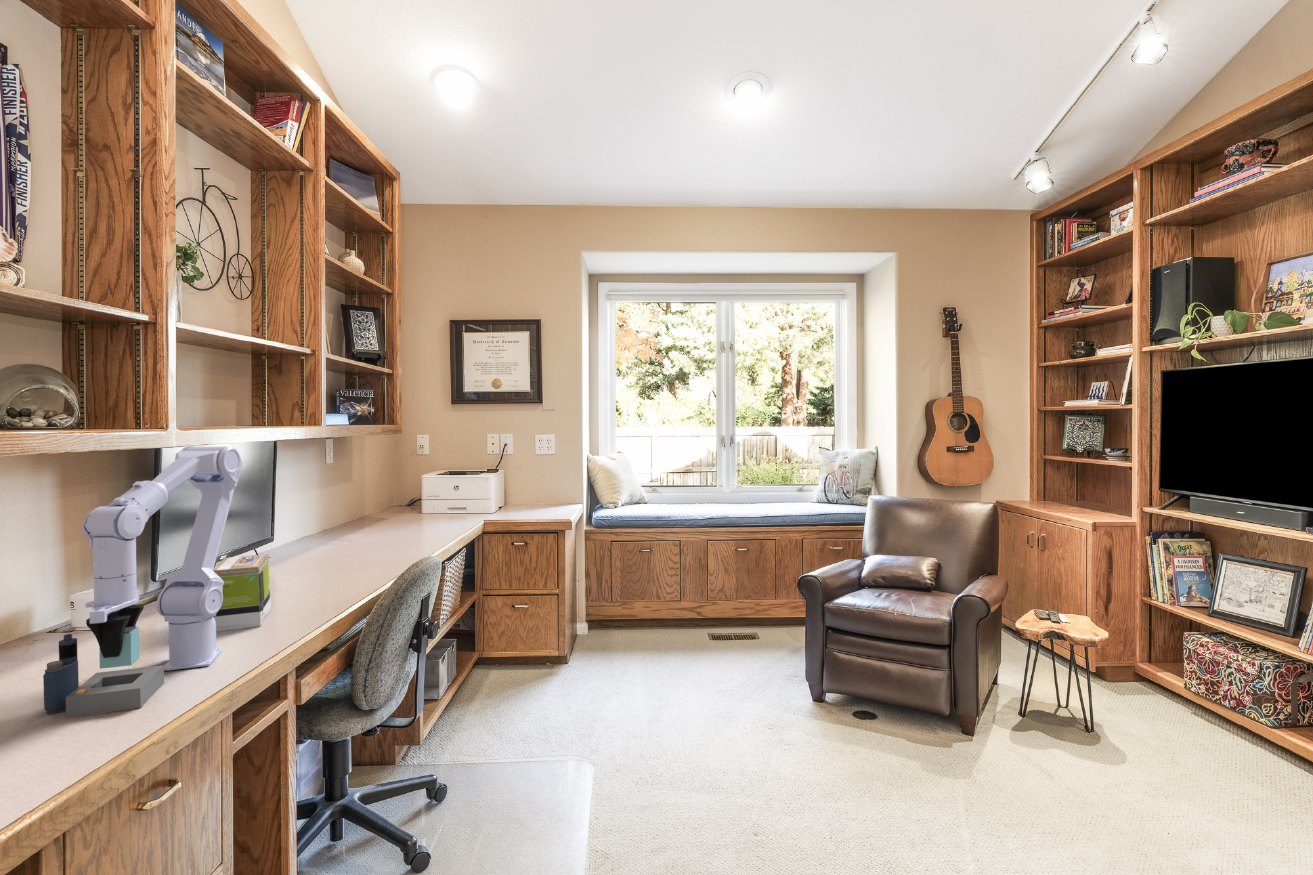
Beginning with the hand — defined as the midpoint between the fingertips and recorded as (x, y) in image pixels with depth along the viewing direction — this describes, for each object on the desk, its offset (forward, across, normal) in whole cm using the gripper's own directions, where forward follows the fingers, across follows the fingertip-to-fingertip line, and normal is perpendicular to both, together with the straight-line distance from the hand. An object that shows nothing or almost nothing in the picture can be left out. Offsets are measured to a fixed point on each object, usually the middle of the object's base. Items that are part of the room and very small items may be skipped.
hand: (116, 652), depth 112 cm
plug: (+2, 0, 0) cm, 2 cm away
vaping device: (+8, 0, -8) cm, 11 cm away
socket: (+8, 0, 0) cm, 8 cm away
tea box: (+8, -44, +10) cm, 46 cm away
